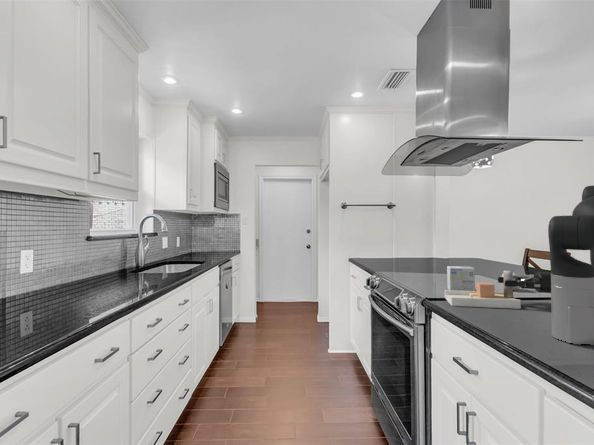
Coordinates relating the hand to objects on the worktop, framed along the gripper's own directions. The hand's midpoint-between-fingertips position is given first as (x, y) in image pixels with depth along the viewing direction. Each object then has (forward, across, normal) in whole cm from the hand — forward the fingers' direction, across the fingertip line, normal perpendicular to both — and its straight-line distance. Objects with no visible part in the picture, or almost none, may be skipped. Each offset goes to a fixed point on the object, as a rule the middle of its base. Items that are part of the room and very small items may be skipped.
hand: (501, 281), depth 126 cm
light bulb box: (+9, -24, +9) cm, 27 cm away
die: (-13, -28, +9) cm, 32 cm away
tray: (+8, 0, +8) cm, 11 cm away
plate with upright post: (+3, 0, +7) cm, 8 cm away
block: (+6, 0, +6) cm, 8 cm away
